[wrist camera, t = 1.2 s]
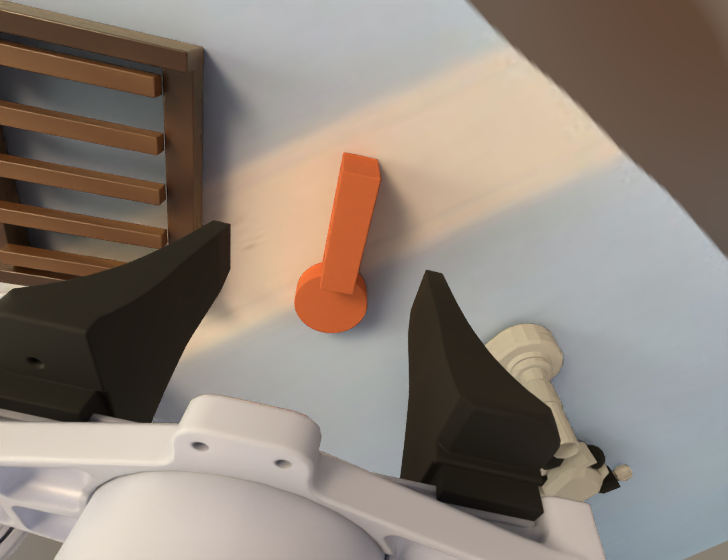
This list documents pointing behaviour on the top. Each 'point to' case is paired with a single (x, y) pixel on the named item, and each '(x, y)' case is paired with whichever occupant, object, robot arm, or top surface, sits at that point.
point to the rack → (98, 141)
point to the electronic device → (536, 372)
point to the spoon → (342, 252)
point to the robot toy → (581, 475)
